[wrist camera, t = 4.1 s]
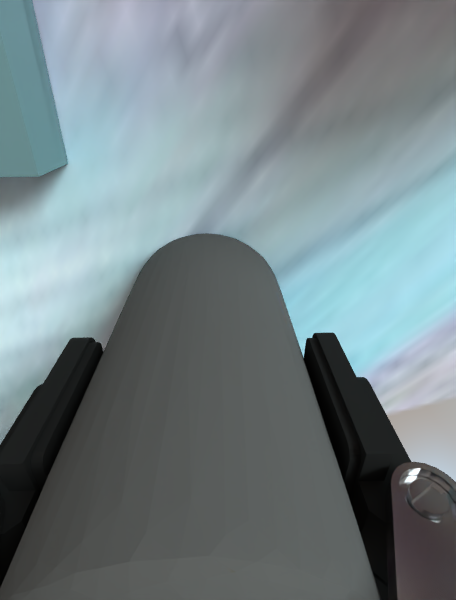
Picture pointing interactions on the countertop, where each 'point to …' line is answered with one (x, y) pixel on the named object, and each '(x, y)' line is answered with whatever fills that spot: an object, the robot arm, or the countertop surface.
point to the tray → (26, 97)
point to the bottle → (196, 453)
